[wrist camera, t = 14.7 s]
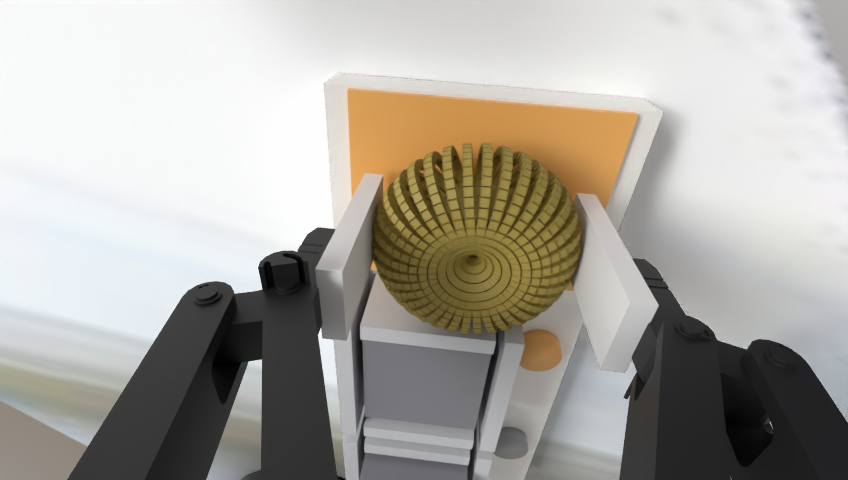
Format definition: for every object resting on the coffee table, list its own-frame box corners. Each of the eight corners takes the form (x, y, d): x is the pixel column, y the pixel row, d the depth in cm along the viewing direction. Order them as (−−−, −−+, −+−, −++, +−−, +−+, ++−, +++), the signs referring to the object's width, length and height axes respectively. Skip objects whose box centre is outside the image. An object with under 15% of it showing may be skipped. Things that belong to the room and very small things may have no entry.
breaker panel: (518, 459, 32) (527, 548, 27) (356, 439, 33) (336, 522, 28) (644, 98, 17) (716, 150, 12) (337, 72, 18) (285, 112, 13)
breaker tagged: (474, 375, 24) (474, 429, 21) (377, 363, 25) (364, 416, 22) (488, 301, 21) (491, 354, 18) (376, 289, 21) (362, 339, 18)
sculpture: (641, 208, 12) (538, 374, 17) (604, 158, 16) (527, 306, 20) (382, 140, 12) (346, 328, 16) (401, 103, 15) (367, 267, 20)
